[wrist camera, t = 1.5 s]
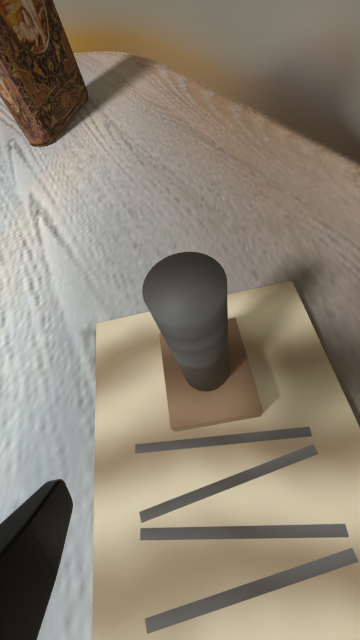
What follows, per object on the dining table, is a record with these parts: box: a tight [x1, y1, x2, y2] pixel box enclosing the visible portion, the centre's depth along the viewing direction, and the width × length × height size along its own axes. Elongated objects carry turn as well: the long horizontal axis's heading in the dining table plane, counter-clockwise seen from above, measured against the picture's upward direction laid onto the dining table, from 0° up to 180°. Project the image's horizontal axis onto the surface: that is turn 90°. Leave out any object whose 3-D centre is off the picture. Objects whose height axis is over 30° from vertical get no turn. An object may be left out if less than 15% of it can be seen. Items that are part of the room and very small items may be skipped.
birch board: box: [92, 281, 360, 640], centre depth 18 cm, size 24×18×1 cm
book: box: [0, 0, 88, 147], centre depth 38 cm, size 16×6×25 cm, turn 166°
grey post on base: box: [143, 252, 263, 432], centre depth 15 cm, size 7×6×12 cm
